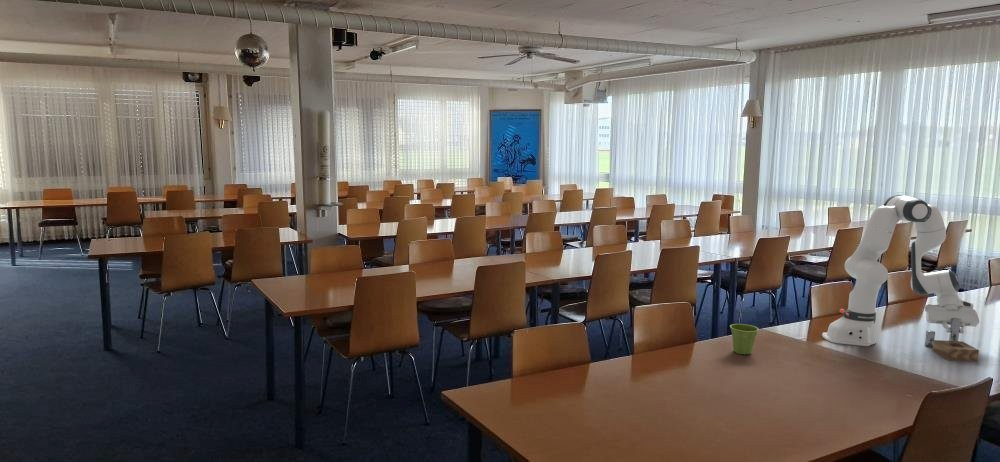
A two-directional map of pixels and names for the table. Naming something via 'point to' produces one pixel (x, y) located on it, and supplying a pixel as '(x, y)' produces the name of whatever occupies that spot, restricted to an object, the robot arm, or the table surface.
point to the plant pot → (743, 337)
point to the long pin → (954, 329)
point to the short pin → (929, 338)
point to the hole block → (955, 350)
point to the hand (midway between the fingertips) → (955, 332)
